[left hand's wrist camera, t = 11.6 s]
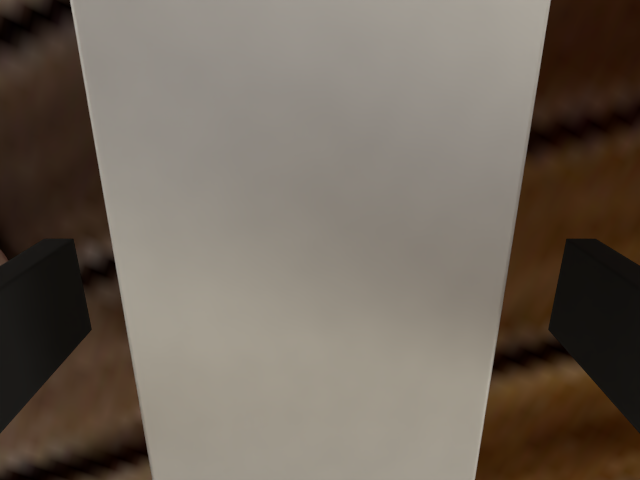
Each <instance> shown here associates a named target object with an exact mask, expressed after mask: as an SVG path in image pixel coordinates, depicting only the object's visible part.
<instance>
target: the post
mask: <svg viewBox="0 0 640 480" xmlns="http://www.w3.org/2000/svg"><path fill="white" fill-rule="evenodd" d="M550 1H551V0H70V2H71V8H72V14H73V20H74V26H75V31H76V37H77V43H78V49H79V55H80V61H81V66H82V72H83V78H84V84H85V90H86V95H87V101H88V107H89V113H90V119H91V125H92V130H93V136H94V142H95V148H96V154H97V159H98V165H99V171H100V177H101V183H102V189H103V194H104V200H105V206H106V212H107V218H108V223H109V229H110V235H111V241H112V247H113V253H114V258H115V264H116V270H117V276H118V282H119V288H120V293H121V299H122V305H123V311H124V317H125V322H126V328H127V334H128V340H129V346H130V352H131V357H132V363H133V369H134V375H135V381H136V386H137V392H138V398H139V404H140V410H141V416H142V421H143V427H144V433H145V439H146V445H147V450H148V456H149V462H150V468H151V474H152V480H475V475H476V468H477V462H478V456H479V449H480V443H481V437H482V430H483V424H484V418H485V411H486V405H487V399H488V392H489V386H490V380H491V374H492V367H493V361H494V355H495V348H496V342H497V336H498V329H499V323H500V317H501V310H502V304H503V298H504V291H505V285H506V279H507V272H508V266H509V260H510V253H511V247H512V241H513V235H514V228H515V222H516V216H517V209H518V203H519V197H520V190H521V184H522V178H523V171H524V165H525V159H526V152H527V146H528V140H529V133H530V127H531V121H532V114H533V108H534V102H535V96H536V89H537V83H538V77H539V70H540V64H541V58H542V51H543V45H544V39H545V32H546V26H547V20H548V13H549V7H550Z"/></svg>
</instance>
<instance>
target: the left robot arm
mask: <svg viewBox="0 0 640 480" xmlns="http://www.w3.org/2000/svg"><path fill="white" fill-rule="evenodd" d="M91 330H92V329H91V324H90V319H89V314H88V309H87V304H86V299H85V294H84V289H83V284H82V279H81V274H80V269H79V264H78V259H77V254H76V249H75V244H74V239H43V240H42V241H40V242H38V243H37V244H35V245H33V246H32V247H30V248H29V249H27V250H25V251H24V252H22V253H20V254H19V255H17V256H15V257H14V258H12V259H11V260H9V261H7V262H6V263H4V264H2V265H1V266H0V433H1V432H2V431H3V430H4V428H5V427H6V426H7V425H8V424H9V423H10V422H11V421H12V419H13V418H14V417H15V416H16V415H17V414H18V413H19V411H20V410H21V409H22V408H23V407H24V406H25V405H26V404H27V402H28V401H29V400H30V399H31V398H32V397H33V396H34V394H35V393H36V392H37V391H38V390H39V389H40V388H41V386H42V385H43V384H44V383H45V382H46V381H47V380H48V379H49V377H50V376H51V375H52V374H53V373H54V372H55V371H56V369H57V368H58V367H59V366H60V365H61V364H62V363H63V362H64V360H65V359H66V358H67V357H68V356H69V355H70V354H71V352H72V351H73V350H74V349H75V348H76V347H77V346H78V345H79V343H80V342H81V341H82V340H83V339H84V338H85V337H86V335H87V334H88V333H89V332H90V331H91ZM548 330H549V331H550V332H551V333H552V334H553V335H554V337H555V338H556V339H557V340H558V341H559V342H560V343H561V345H562V346H563V347H564V348H565V349H566V350H567V351H568V352H569V354H570V355H571V356H572V357H573V358H574V359H575V360H576V362H577V363H578V364H579V365H580V366H581V367H582V368H583V369H584V371H585V372H586V373H587V374H588V375H589V376H590V377H591V379H592V380H593V381H594V382H595V383H596V384H597V385H598V387H599V388H600V389H601V390H602V391H603V392H604V393H605V394H606V396H607V397H608V398H609V399H610V400H611V401H612V402H613V404H614V405H615V406H616V407H617V408H618V409H619V410H620V411H621V413H622V414H623V415H624V416H625V417H626V418H627V419H628V421H629V422H630V423H631V424H632V425H633V426H634V427H635V429H636V430H637V431H638V432H639V433H640V266H639V265H638V264H636V263H634V262H633V261H631V260H629V259H628V258H626V257H625V256H623V255H621V254H620V253H618V252H616V251H615V250H613V249H611V248H610V247H608V246H607V245H605V244H603V243H602V242H600V241H598V240H597V239H566V244H565V249H564V254H563V259H562V264H561V269H560V274H559V279H558V284H557V289H556V294H555V299H554V304H553V309H552V314H551V319H550V324H549V329H548Z"/></svg>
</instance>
